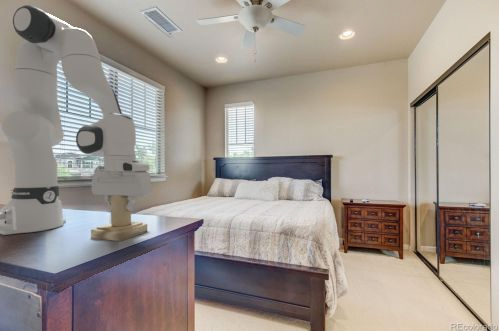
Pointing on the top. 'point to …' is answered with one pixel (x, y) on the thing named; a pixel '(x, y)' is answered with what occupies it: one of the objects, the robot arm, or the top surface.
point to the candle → (120, 211)
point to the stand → (118, 231)
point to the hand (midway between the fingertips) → (120, 209)
